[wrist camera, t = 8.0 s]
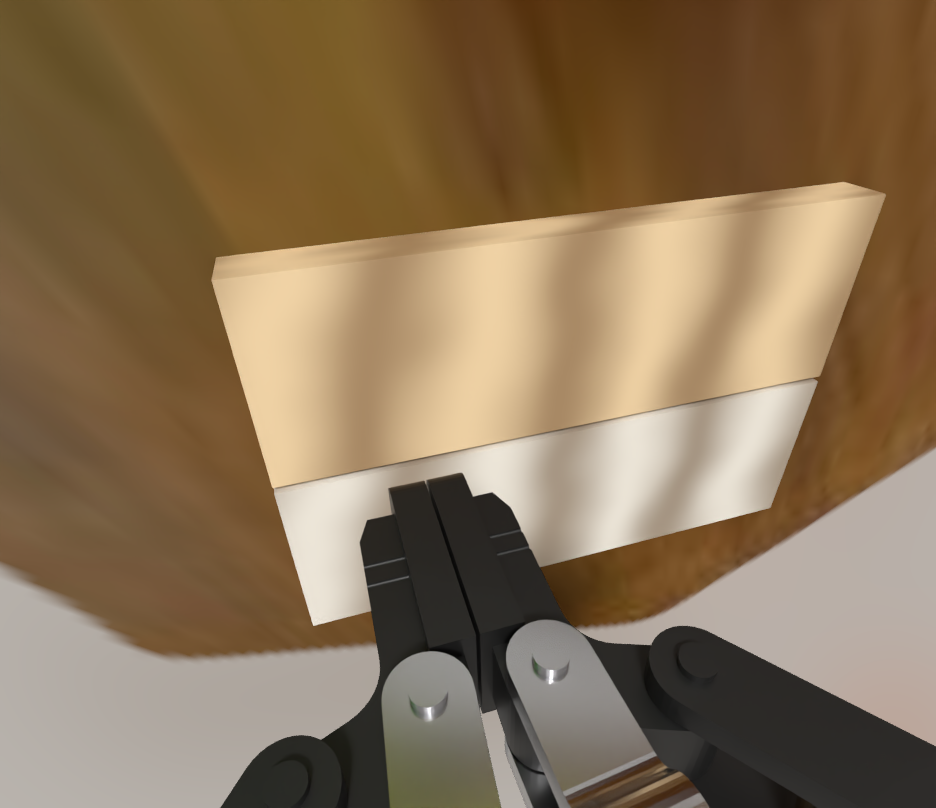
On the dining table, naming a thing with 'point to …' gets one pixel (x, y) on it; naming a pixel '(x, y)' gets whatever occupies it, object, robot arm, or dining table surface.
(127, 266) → the dining table surface
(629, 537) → the whitewashed oak board
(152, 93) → the dining table surface
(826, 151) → the dining table surface
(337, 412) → the honey oak plank
